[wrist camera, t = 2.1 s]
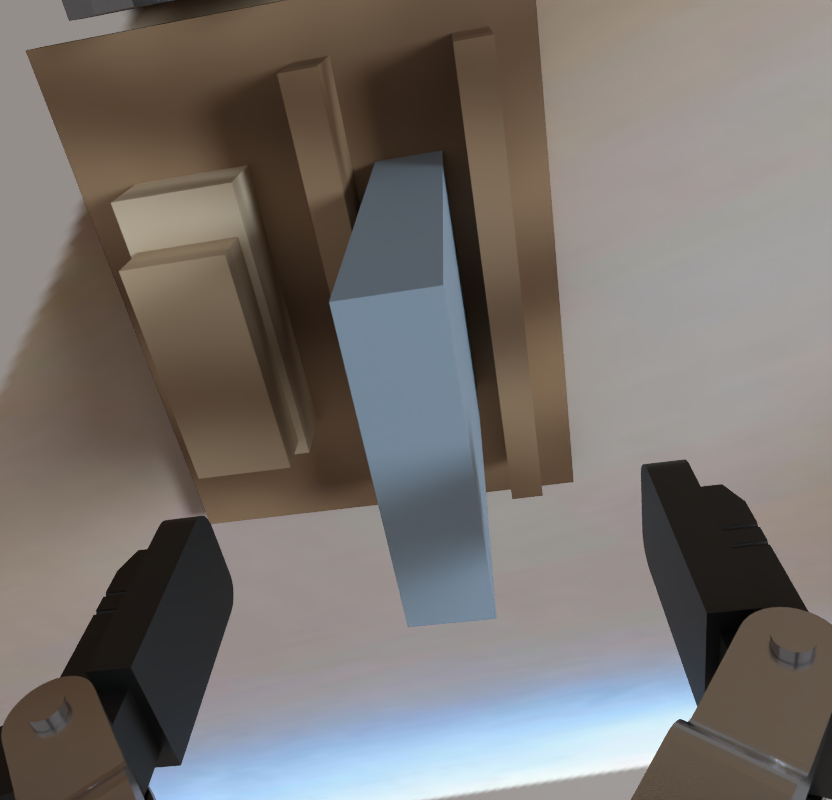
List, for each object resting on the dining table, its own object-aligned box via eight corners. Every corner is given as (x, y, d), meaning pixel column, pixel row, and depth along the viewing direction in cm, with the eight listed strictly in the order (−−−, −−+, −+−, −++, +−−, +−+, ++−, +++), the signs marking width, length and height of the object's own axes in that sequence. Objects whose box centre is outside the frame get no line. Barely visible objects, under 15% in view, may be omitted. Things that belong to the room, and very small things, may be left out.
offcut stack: (135, 183, 23) (88, 218, 20) (247, 165, 22) (216, 197, 19) (223, 433, 27) (195, 492, 24) (317, 420, 27) (301, 479, 24)
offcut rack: (42, 46, 22) (-23, 60, 19) (528, -47, 20) (543, -48, 17) (216, 507, 30) (192, 569, 27) (569, 466, 29) (584, 526, 26)
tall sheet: (375, 161, 22) (328, 301, 13) (442, 149, 22) (443, 284, 13) (419, 395, 26) (408, 627, 17) (477, 387, 26) (496, 618, 17)
